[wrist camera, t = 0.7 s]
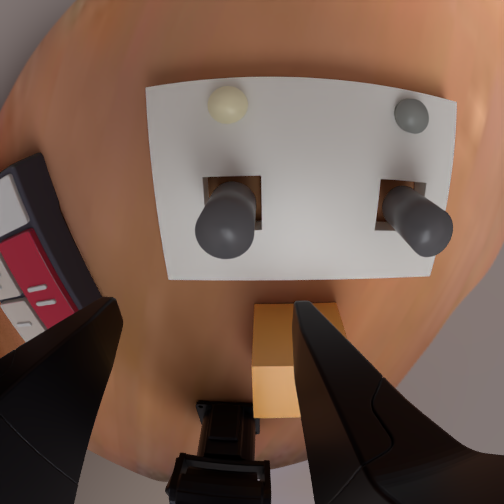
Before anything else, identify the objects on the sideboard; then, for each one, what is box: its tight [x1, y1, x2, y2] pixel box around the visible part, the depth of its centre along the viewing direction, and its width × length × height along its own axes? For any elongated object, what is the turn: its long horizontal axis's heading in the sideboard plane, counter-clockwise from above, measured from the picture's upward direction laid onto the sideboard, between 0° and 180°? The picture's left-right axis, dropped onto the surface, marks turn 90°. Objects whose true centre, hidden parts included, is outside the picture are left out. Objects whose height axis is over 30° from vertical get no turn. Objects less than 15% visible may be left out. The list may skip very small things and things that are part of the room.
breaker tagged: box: [195, 181, 256, 259], centre depth 15 cm, size 3×3×4 cm
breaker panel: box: [146, 77, 457, 280], centre depth 16 cm, size 12×18×2 cm, turn 92°
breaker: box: [382, 186, 453, 257], centre depth 14 cm, size 3×3×4 cm
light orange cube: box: [252, 303, 347, 418], centre depth 20 cm, size 6×6×6 cm
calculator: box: [0, 153, 102, 342], centre depth 19 cm, size 11×4×15 cm
